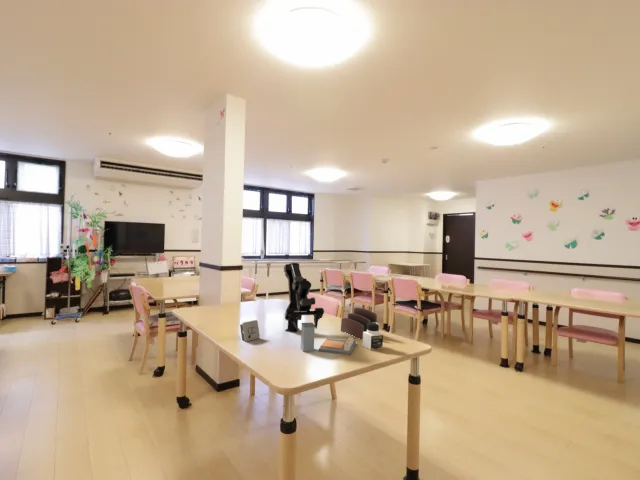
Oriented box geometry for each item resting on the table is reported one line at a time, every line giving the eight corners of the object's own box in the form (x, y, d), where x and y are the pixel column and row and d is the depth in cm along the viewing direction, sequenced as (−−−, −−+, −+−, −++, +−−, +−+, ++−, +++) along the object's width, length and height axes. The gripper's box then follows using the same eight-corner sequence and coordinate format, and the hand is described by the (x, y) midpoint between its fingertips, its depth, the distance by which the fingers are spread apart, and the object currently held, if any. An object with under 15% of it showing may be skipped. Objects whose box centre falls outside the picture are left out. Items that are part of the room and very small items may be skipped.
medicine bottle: (370, 350, 158) (371, 325, 158) (362, 346, 164) (363, 321, 164) (382, 348, 161) (383, 324, 161) (373, 344, 167) (374, 320, 167)
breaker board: (327, 340, 171) (327, 332, 171) (355, 343, 167) (356, 335, 167) (318, 351, 153) (318, 342, 153) (350, 355, 150) (351, 346, 150)
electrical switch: (245, 342, 162) (245, 323, 163) (238, 341, 165) (238, 322, 166) (260, 338, 169) (259, 320, 170) (253, 337, 173) (253, 319, 173)
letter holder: (354, 329, 195) (355, 305, 195) (376, 338, 179) (378, 312, 179) (340, 331, 190) (341, 306, 190) (362, 340, 173) (363, 314, 173)
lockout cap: (300, 348, 157) (301, 322, 157) (311, 347, 158) (312, 322, 158) (303, 351, 152) (304, 325, 152) (313, 351, 153) (315, 325, 153)
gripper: (286, 291, 159) (290, 319, 149) (323, 291, 165) (329, 318, 154) (283, 305, 167) (286, 332, 156) (318, 304, 172) (324, 331, 161)
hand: (307, 328), depth 157 cm, fingers open, 9 cm apart
